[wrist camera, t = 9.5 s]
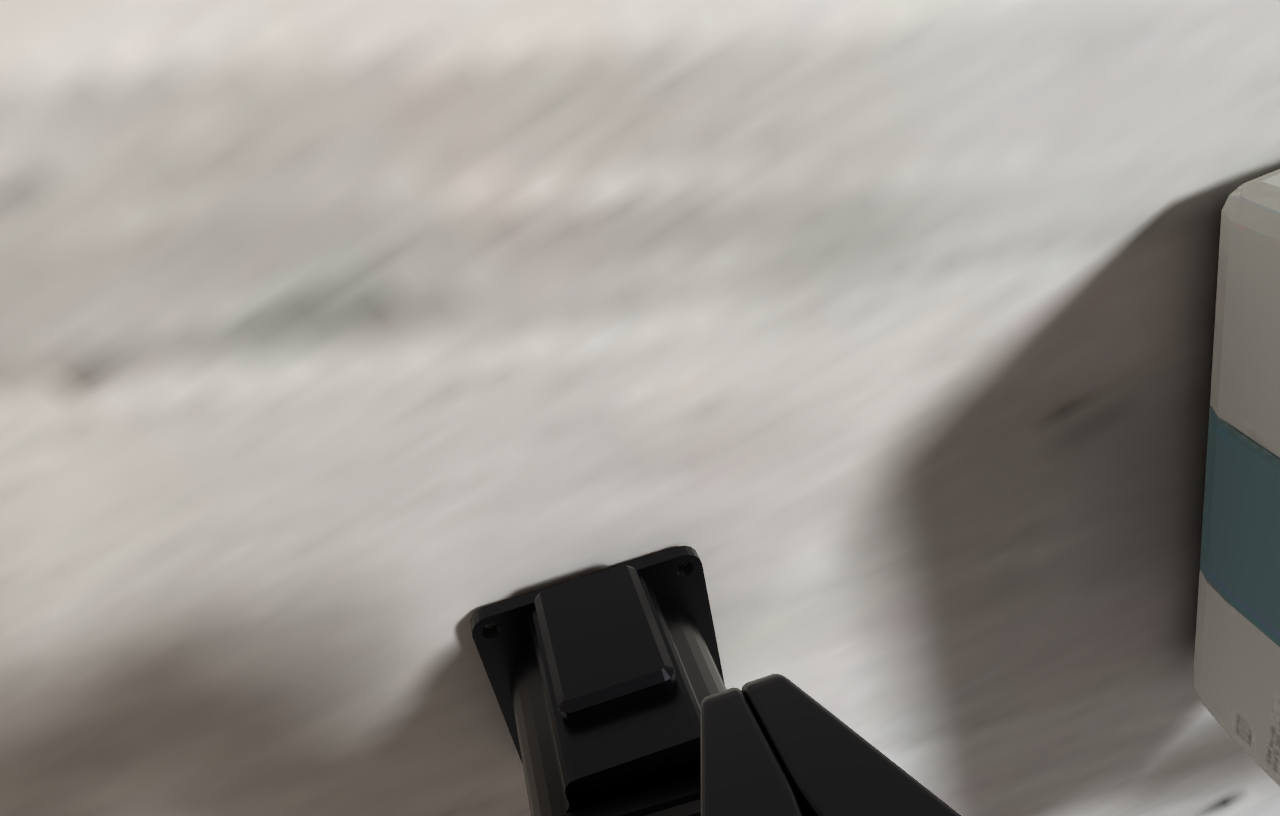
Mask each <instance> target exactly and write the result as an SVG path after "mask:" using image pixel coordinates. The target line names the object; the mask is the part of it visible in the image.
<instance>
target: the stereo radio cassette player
mask: <svg viewBox="0 0 1280 816" xmlns="http://www.w3.org/2000/svg"><path fill="white" fill-rule="evenodd" d="M1194 688H1195V691H1196V693H1197V695H1198V696H1199V698H1200V700H1201V701H1202V703H1203V705H1204V706H1205V707H1206V708H1207V710H1208V711H1209V712H1210V713H1211V714H1212V716H1213V717H1214V718H1215V719H1216V720H1217V722H1218V723H1219V724H1220V725H1221V726H1222V727H1223V728H1224V730H1225V731H1226V732H1227V733H1228V734H1229V735H1230V736H1231V737H1232V738H1233V739H1234V740H1235V741H1236V742H1237V743H1238V744H1239V745H1240V746H1241V747H1242V748H1243V749H1244V750H1245V751H1246V752H1247V753H1248V754H1249V755H1250V756H1251V758H1252V759H1253V760H1254V761H1255V762H1256V763H1257V764H1258V765H1259V766H1260V767H1261V768H1262V769H1263V770H1264V771H1265V772H1266V773H1267V774H1268V775H1269V776H1270V777H1271V778H1272V779H1273V780H1274V781H1275V782H1276V783H1277V784H1278V785H1279V786H1280V169H1278V170H1275V171H1273V172H1270V173H1268V174H1265V175H1263V176H1261V177H1258V178H1256V179H1253V180H1251V181H1248V182H1246V183H1243V184H1242V185H1240V186H1239V187H1238V188H1237V189H1236V190H1235V191H1233V192H1232V193H1231V194H1230V195H1229V196H1228V198H1227V200H1226V203H1225V205H1224V207H1223V209H1222V211H1221V227H1220V244H1219V261H1218V278H1217V295H1216V311H1215V328H1214V345H1213V362H1212V379H1211V396H1210V409H1209V426H1208V442H1207V458H1206V475H1205V491H1204V507H1203V524H1202V540H1201V556H1200V574H1199V590H1198V606H1197V623H1196V639H1195V655H1194Z"/></svg>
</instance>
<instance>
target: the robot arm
mask: <svg viewBox="0 0 1280 816" xmlns="http://www.w3.org/2000/svg"><path fill="white" fill-rule="evenodd" d="M683 562H688V563H687V564H686V565H685V566H683V567H679V568H677V567H678V565H679V564H681V563H683ZM487 624H497V625H496V626H494V627H492V628H485V627H484V626H486V625H487ZM471 628H472V635H473V639H474V641H475V644H476V647H477V649H478V652H479V654H480V657H481V659H482V662H483V664H484V667H485V669H486V672H487V675H488V677H489V680H490V682H491V685H492V687H493V690H494V692H495V695H496V698H497V700H498V703H499V705H500V708H501V710H502V713H503V715H504V718H505V721H506V723H507V726H508V728H509V731H510V733H511V736H512V738H513V741H514V744H515V746H516V749H517V751H518V754H519V756H520V759H521V761H522V764H523V769H524V775H525V781H526V787H527V793H528V799H529V805H530V811H531V816H961V815H959V814H958V813H957V812H956V811H954V810H953V809H952V808H951V807H949V806H948V805H947V804H946V803H944V802H943V801H942V800H940V799H939V798H938V797H937V796H935V795H934V794H933V793H932V792H930V791H929V790H928V789H927V788H925V787H924V786H923V785H921V784H920V783H919V782H918V781H916V780H915V779H914V778H913V777H911V776H910V775H909V774H908V773H906V772H905V771H904V770H903V769H901V768H900V767H899V766H897V765H896V764H895V763H894V762H892V761H891V760H890V759H889V758H887V757H886V756H885V755H884V754H882V753H881V752H880V751H878V750H877V749H876V748H875V747H873V746H872V745H871V744H870V743H868V742H867V741H866V740H865V739H863V738H862V737H861V736H859V735H858V734H857V733H856V732H854V731H853V730H852V729H851V728H849V727H848V726H847V725H846V724H844V723H843V722H842V721H840V720H839V719H838V718H837V717H835V716H834V715H833V714H832V713H830V712H829V711H828V710H827V709H825V708H824V707H823V706H821V705H820V704H819V703H818V702H816V701H815V700H814V699H813V698H811V697H810V696H809V695H808V694H806V693H805V692H804V691H802V690H801V689H800V688H799V687H797V686H796V685H795V684H794V683H792V682H791V681H790V680H789V679H787V678H786V677H784V676H782V675H779V674H772V675H769V676H766V677H763V678H760V679H757V680H754V681H751V682H748V683H746V684H745V685H744V686H743V687H742V691H741V690H740V689H738V688H731V689H728V690H726V687H725V685H724V679H723V674H722V669H721V663H720V658H719V653H718V647H717V642H716V637H715V631H714V626H713V621H712V615H711V610H710V605H709V599H708V594H707V589H706V583H705V578H704V573H703V567H702V563H701V561H700V559H699V557H698V555H697V553H696V551H695V550H694V549H693V548H691V547H688V546H680V547H676V548H672V549H669V550H666V551H663V552H660V553H657V554H653V555H650V556H647V557H644V558H641V559H637V560H634V561H631V562H628V563H625V564H622V565H618V566H615V567H612V568H609V569H606V570H602V571H599V572H596V573H593V574H590V575H587V576H583V577H580V578H577V579H574V580H571V581H567V582H564V583H561V584H558V585H555V586H552V587H548V588H545V589H542V590H539V591H536V592H533V593H529V594H526V595H523V596H520V597H517V598H513V599H510V600H507V601H504V602H501V603H498V604H494V605H491V606H488V607H485V608H483V609H481V610H479V611H477V612H476V613H475V614H474V615H473V617H472V619H471Z"/></svg>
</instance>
